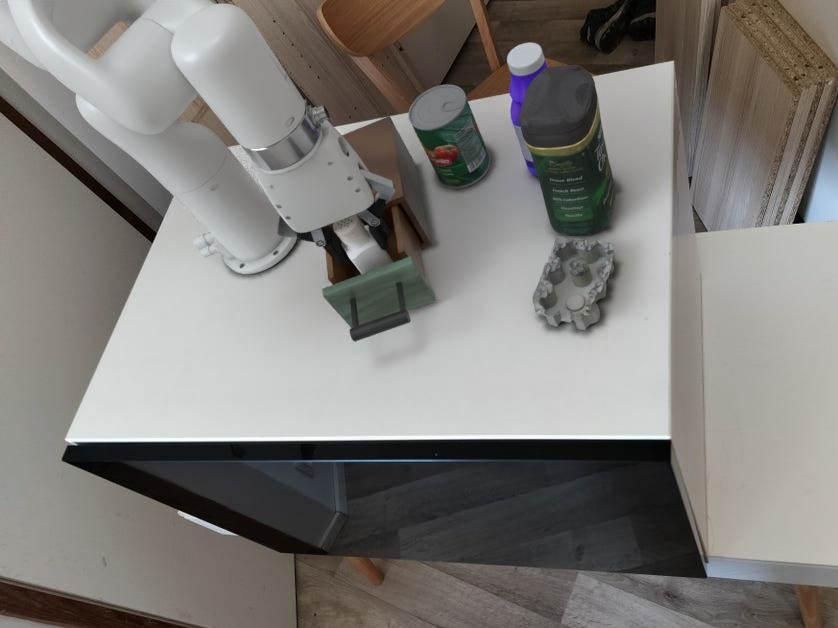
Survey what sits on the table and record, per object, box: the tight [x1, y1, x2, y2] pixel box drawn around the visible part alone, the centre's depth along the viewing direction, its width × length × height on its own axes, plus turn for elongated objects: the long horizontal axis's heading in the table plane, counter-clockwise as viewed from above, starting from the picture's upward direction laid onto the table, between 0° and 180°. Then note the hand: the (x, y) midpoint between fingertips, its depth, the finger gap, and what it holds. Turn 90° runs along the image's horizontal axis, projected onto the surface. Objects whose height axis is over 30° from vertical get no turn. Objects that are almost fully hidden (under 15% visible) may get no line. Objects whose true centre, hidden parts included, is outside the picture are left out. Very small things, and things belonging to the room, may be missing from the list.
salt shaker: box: [333, 214, 393, 274], centre depth 81 cm, size 4×4×10 cm
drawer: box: [321, 203, 437, 342], centre depth 84 cm, size 20×11×8 cm, turn 11°
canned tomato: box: [407, 84, 492, 190], centre depth 91 cm, size 8×8×11 cm
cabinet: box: [322, 115, 433, 250], centre depth 91 cm, size 16×13×10 cm
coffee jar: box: [519, 64, 616, 237], centre depth 77 cm, size 10×8×19 cm
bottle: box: [506, 42, 549, 177], centre depth 83 cm, size 7×6×17 cm
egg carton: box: [532, 235, 615, 331], centre depth 77 cm, size 11×8×4 cm
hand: (363, 248), depth 81 cm, fingers closed on salt shaker, 4 cm apart
